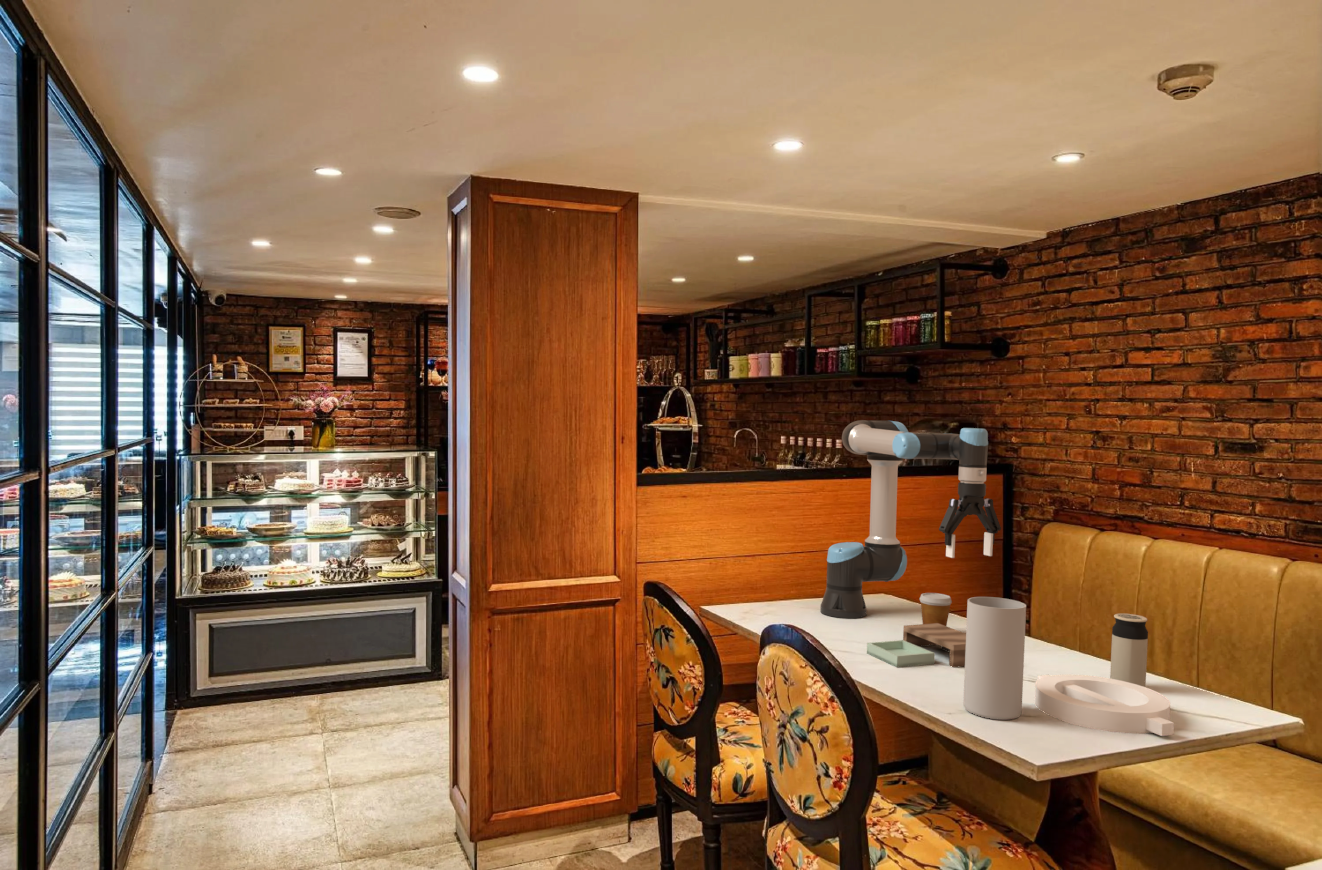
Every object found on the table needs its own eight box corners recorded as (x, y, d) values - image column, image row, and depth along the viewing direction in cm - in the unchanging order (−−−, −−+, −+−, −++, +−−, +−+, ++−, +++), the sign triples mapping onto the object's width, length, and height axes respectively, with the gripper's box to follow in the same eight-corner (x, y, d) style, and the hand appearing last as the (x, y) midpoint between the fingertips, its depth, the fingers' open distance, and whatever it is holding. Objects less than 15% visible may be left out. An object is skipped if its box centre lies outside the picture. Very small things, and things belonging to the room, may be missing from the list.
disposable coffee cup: (946, 631, 282) (948, 593, 281) (953, 639, 272) (955, 599, 272) (915, 630, 282) (916, 591, 282) (921, 637, 273) (922, 598, 273)
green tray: (866, 653, 253) (867, 642, 253) (902, 650, 258) (903, 640, 257) (896, 667, 240) (897, 656, 240) (934, 664, 244) (934, 653, 244)
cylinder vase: (974, 698, 215) (979, 594, 215) (1028, 711, 207) (1033, 603, 207) (954, 711, 206) (959, 602, 205) (1010, 725, 198) (1015, 611, 197)
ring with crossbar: (1175, 743, 191) (1176, 721, 190) (1031, 720, 202) (1032, 699, 202) (1163, 705, 216) (1164, 685, 216) (1036, 687, 228) (1037, 668, 228)
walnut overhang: (902, 646, 262) (903, 625, 262) (936, 643, 267) (937, 623, 267) (953, 667, 242) (953, 645, 242) (989, 663, 246) (989, 642, 246)
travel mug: (1126, 693, 223) (1129, 621, 223) (1102, 683, 231) (1105, 613, 230) (1152, 691, 225) (1156, 619, 225) (1128, 682, 233) (1131, 612, 233)
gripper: (945, 483, 250) (942, 559, 251) (1015, 483, 260) (1012, 556, 260) (928, 481, 257) (925, 555, 258) (996, 480, 267) (993, 552, 267)
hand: (969, 556), depth 259 cm, fingers open, 13 cm apart
